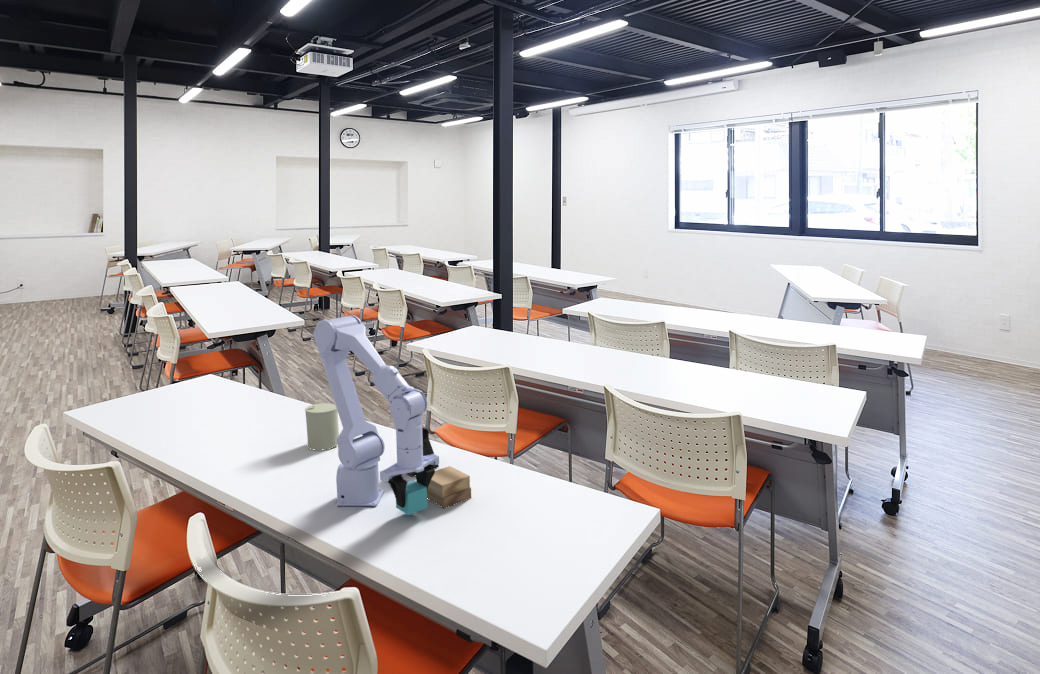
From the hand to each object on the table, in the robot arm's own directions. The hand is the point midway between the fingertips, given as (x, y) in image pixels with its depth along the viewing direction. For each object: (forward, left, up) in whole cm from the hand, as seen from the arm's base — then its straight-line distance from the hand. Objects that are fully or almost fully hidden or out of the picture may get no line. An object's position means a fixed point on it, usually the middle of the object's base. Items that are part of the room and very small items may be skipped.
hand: (411, 501), depth 140 cm
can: (-34, +43, -4) cm, 55 cm away
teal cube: (0, 0, -2) cm, 2 cm away
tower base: (+7, +9, -4) cm, 12 cm away
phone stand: (-3, +26, -4) cm, 26 cm away
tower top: (+7, +9, -1) cm, 11 cm away
